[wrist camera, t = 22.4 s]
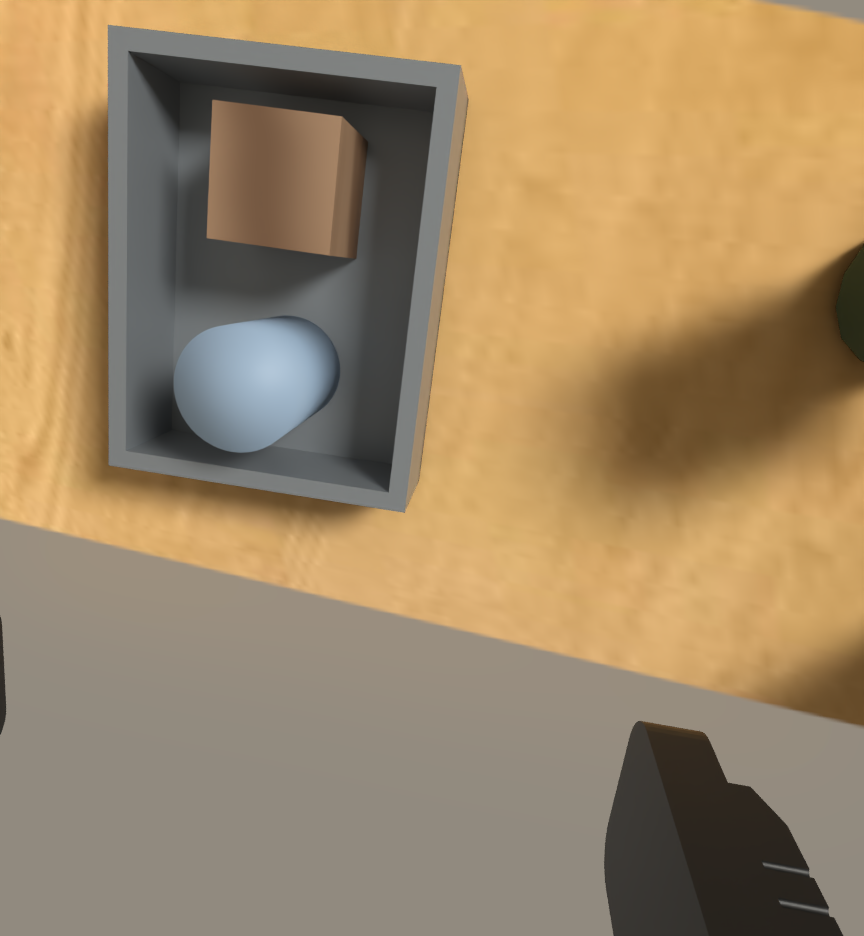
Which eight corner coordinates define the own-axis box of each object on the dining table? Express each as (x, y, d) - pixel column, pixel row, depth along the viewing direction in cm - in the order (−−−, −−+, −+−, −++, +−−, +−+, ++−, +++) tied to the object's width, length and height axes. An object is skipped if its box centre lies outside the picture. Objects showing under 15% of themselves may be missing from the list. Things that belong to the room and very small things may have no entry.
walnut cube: (367, 141, 30) (341, 116, 26) (356, 258, 32) (329, 255, 27) (258, 127, 31) (212, 99, 26) (251, 244, 32) (206, 237, 27)
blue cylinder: (343, 321, 33) (300, 332, 26) (336, 424, 34) (294, 460, 27) (241, 310, 33) (173, 318, 26) (238, 411, 34) (173, 444, 28)
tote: (468, 99, 30) (460, 65, 25) (418, 480, 35) (404, 512, 30) (169, 64, 31) (108, 24, 26) (162, 440, 36) (108, 465, 31)
